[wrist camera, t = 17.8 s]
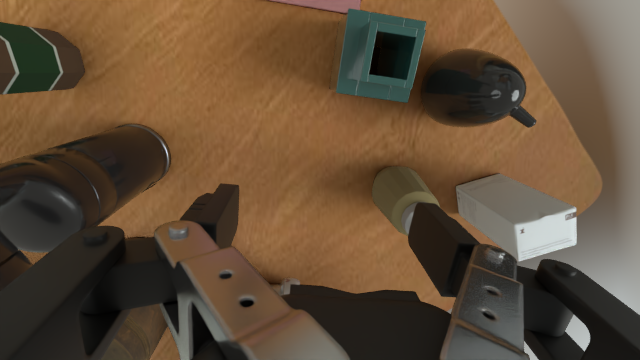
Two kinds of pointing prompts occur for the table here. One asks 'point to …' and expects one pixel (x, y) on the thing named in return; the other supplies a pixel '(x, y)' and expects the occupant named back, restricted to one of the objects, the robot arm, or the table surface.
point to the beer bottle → (37, 60)
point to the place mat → (325, 4)
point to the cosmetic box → (517, 216)
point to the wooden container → (138, 334)
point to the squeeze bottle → (400, 195)
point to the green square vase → (394, 60)
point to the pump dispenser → (474, 89)
